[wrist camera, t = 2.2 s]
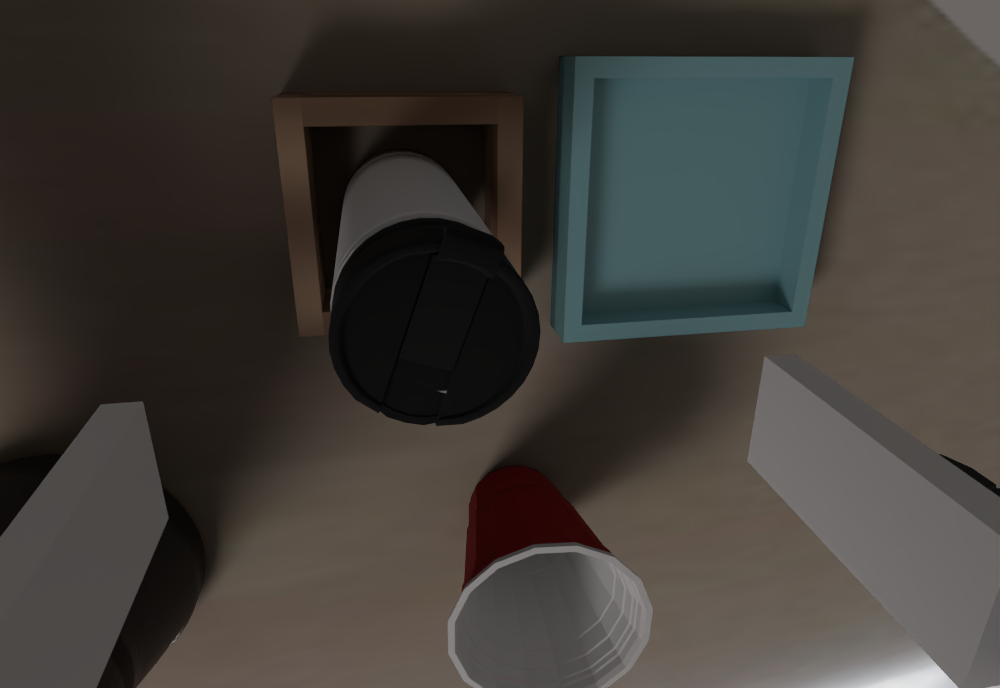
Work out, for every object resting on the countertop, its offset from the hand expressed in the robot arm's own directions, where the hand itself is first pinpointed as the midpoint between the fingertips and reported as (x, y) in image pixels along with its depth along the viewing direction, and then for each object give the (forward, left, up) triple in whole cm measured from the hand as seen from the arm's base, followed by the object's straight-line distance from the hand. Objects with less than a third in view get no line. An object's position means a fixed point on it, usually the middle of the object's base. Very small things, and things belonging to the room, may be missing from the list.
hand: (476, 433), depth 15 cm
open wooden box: (0, 0, -25) cm, 25 cm away
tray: (0, -16, -25) cm, 30 cm away
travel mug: (0, 0, -25) cm, 25 cm away
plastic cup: (-20, -6, -25) cm, 33 cm away
